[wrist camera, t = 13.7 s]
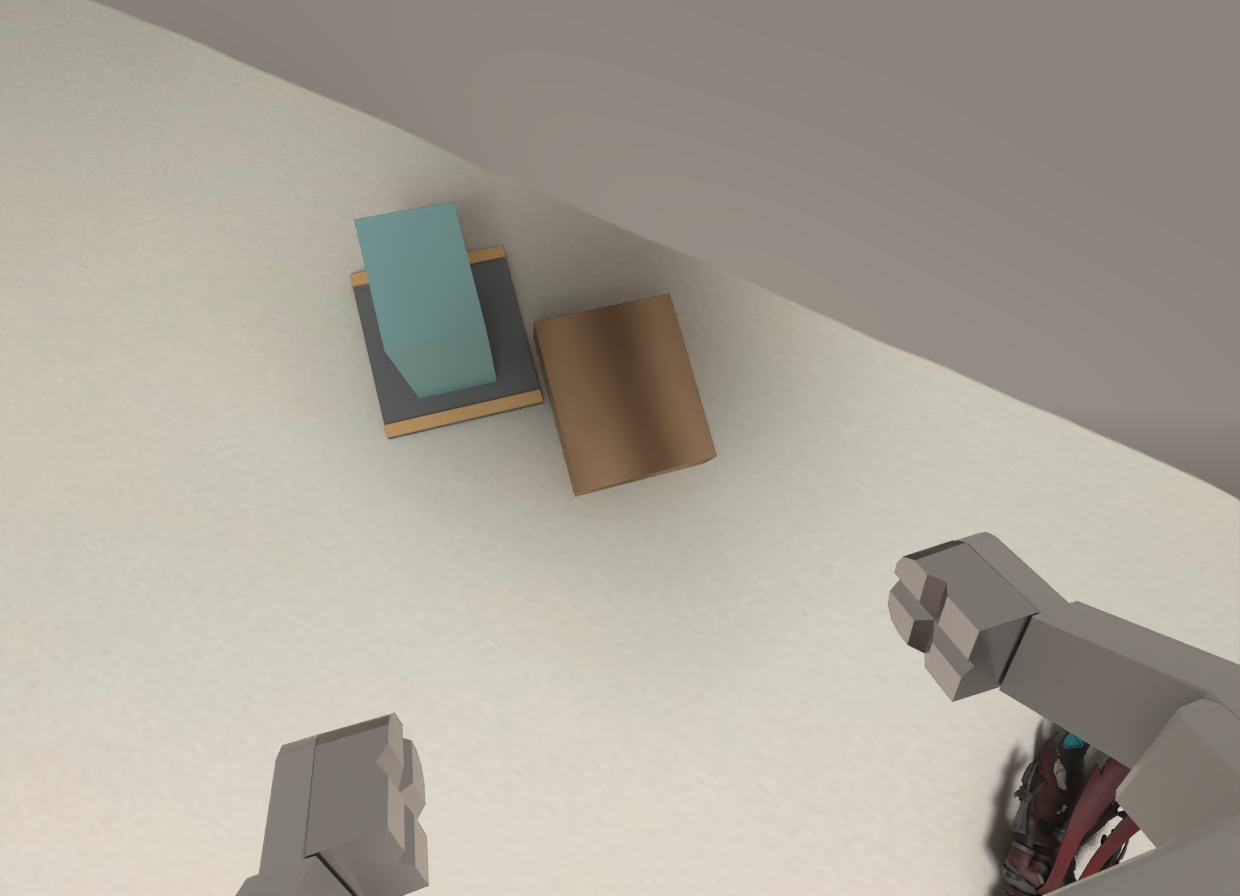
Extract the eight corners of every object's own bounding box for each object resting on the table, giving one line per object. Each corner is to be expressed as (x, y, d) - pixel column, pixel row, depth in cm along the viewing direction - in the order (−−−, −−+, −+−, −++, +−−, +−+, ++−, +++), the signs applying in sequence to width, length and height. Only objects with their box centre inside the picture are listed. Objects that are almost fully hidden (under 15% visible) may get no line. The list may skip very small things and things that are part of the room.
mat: (389, 439, 41) (386, 437, 41) (352, 278, 43) (349, 274, 42) (542, 403, 43) (543, 400, 42) (503, 250, 44) (502, 245, 44)
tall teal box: (419, 398, 41) (384, 350, 32) (395, 296, 42) (353, 219, 33) (497, 381, 42) (486, 329, 32) (471, 281, 43) (453, 201, 33)
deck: (574, 496, 42) (578, 492, 39) (533, 337, 44) (533, 322, 41) (704, 462, 44) (716, 456, 41) (660, 310, 45) (669, 293, 42)
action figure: (1054, 658, 46) (932, 895, 42) (1127, 666, 40) (994, 942, 36) (1150, 730, 46) (1036, 978, 41) (1237, 748, 40) (1117, 1039, 35)
